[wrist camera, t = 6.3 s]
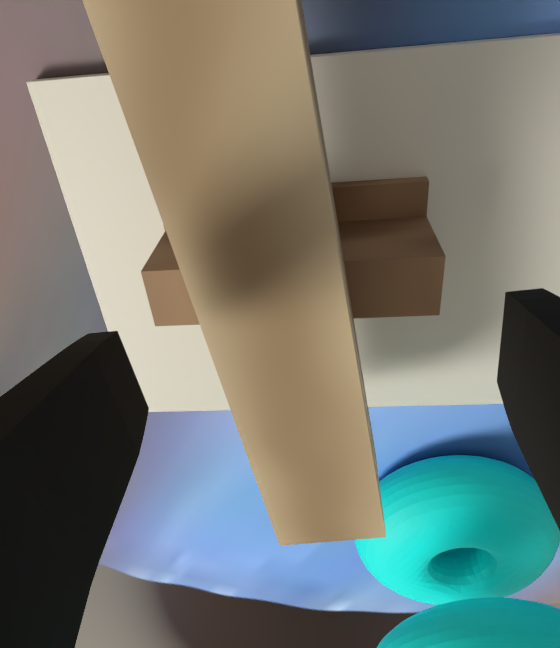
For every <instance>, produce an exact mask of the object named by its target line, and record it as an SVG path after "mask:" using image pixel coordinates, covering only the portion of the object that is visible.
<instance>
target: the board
mask: <svg viewBox="0 0 560 648" xmlns="http://www.w3.org/2000/svg"><path fill="white" fill-rule="evenodd" d="M310 57H311V63H312V69H313V75H314V81H315V87H316V93H317V99H318V105H319V112H320V118H321V124H322V130H323V136H324V142H325V148H326V154H327V160H328V166H329V173H330V179H331V183H332V182H348V181H363V180H379V179H394V178H410V177H425V176H427V178H428V180H429V192H428V205H427V219H428V221H429V223H430V225H431V227H432V229H433V231H434V233H435V235H436V237H437V239H438V241H439V244H440V246H441V248H442V250H443V252H444V254H445V256H446V258H445V268H444V277H443V287H442V296H441V306H440V315H431V316H406V317H380V318H355V319H354V325H355V331H356V337H357V344H358V350H359V356H360V362H361V368H362V374H363V380H364V386H365V392H366V399H367V405H368V407H381V406H424V405H468V404H503V401H502V398H501V394H500V391H499V388H498V384H497V374H498V363H499V353H500V343H501V333H502V323H503V312H504V302H505V292H509V291H519V290H529V289H539V288H543V289H545V290H547V291H549V292H551V293H553V294H555V295H557V296H559V297H560V33H553V34H541V35H530V36H519V37H507V38H496V39H485V40H474V41H462V42H451V43H440V44H428V45H417V46H406V47H394V48H383V49H372V50H361V51H349V52H338V53H327V54H315V55H310ZM26 83H27V86H28V89H29V92H30V95H31V98H32V101H33V104H34V107H35V110H36V113H37V116H38V119H39V122H40V125H41V128H42V131H43V134H44V138H45V141H46V144H47V147H48V150H49V153H50V156H51V159H52V162H53V165H54V168H55V171H56V174H57V177H58V180H59V183H60V186H61V189H62V192H63V195H64V198H65V202H66V205H67V208H68V211H69V214H70V217H71V220H72V223H73V226H74V229H75V232H76V235H77V238H78V241H79V244H80V247H81V250H82V253H83V256H84V259H85V262H86V265H87V269H88V272H89V275H90V278H91V281H92V284H93V287H94V290H95V293H96V296H97V299H98V302H99V305H100V308H101V311H102V314H103V317H104V320H105V323H106V326H107V329H108V332H110V331H118V333H119V336H120V338H121V341H122V343H123V346H124V348H125V351H126V353H127V356H128V358H129V361H130V363H131V365H132V368H133V370H134V373H135V375H136V378H137V380H138V383H139V385H140V388H141V390H142V393H143V395H144V398H145V400H146V403H147V405H148V407H149V411H148V412H165V411H209V410H230V407H229V404H228V401H227V398H226V396H225V393H224V390H223V387H222V385H221V382H220V379H219V376H218V374H217V371H216V368H215V365H214V363H213V360H212V357H211V354H210V351H209V349H208V346H207V343H206V340H205V338H204V335H203V332H202V329H201V327H200V325H177V326H155V324H154V320H153V316H152V312H151V308H150V305H149V301H148V297H147V293H146V290H145V286H144V282H143V278H142V274H141V270H142V269H143V267H144V265H145V264H146V262H147V260H148V259H149V257H150V256H151V254H152V252H153V251H154V249H155V247H156V246H157V244H158V242H159V241H160V239H161V237H162V236H163V234H164V232H165V229H164V225H163V222H162V219H161V216H160V213H159V210H158V208H157V205H156V202H155V199H154V197H153V194H152V191H151V188H150V186H149V183H148V180H147V177H146V175H145V172H144V169H143V166H142V163H141V161H140V158H139V155H138V152H137V150H136V147H135V144H134V141H133V139H132V136H131V133H130V130H129V128H128V125H127V122H126V119H125V116H124V114H123V111H122V108H121V105H120V103H119V100H118V97H117V94H116V92H115V89H114V86H113V83H112V80H111V78H110V75H109V73H101V74H90V75H78V76H67V77H56V78H44V79H35V80H32V81H29V82H26Z"/></svg>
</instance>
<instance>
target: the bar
mask: <svg viewBox="0 0 560 648" xmlns="http://www.w3.org/2000/svg"><path fill="white" fill-rule="evenodd" d="M83 3H84V6H85V9H86V11H87V14H88V17H89V20H90V22H91V25H92V28H93V31H94V33H95V36H96V39H97V42H98V45H99V47H100V50H101V53H102V56H103V58H104V61H105V64H106V67H107V69H108V72H109V75H110V78H111V80H112V83H113V86H114V89H115V92H116V94H117V97H118V100H119V103H120V105H121V108H122V111H123V114H124V116H125V119H126V122H127V125H128V128H129V130H130V133H131V136H132V139H133V141H134V144H135V147H136V150H137V152H138V155H139V158H140V161H141V163H142V166H143V169H144V172H145V175H146V177H147V180H148V183H149V186H150V188H151V191H152V194H153V197H154V199H155V202H156V205H157V208H158V210H159V213H160V216H161V219H162V222H163V224H164V227H165V230H166V233H167V235H168V238H169V241H170V244H171V246H172V249H173V252H174V255H175V257H176V260H177V263H178V266H179V269H180V271H181V274H182V277H183V280H184V282H185V285H186V288H187V291H188V293H189V296H190V299H191V302H192V304H193V307H194V310H195V313H196V316H197V318H198V321H199V324H200V327H201V329H202V332H203V335H204V338H205V340H206V343H207V346H208V349H209V351H210V354H211V357H212V360H213V363H214V365H215V368H216V371H217V374H218V376H219V379H220V382H221V385H222V387H223V390H224V393H225V396H226V398H227V401H228V404H229V407H230V410H231V412H232V415H233V418H234V421H235V423H236V426H237V429H238V432H239V434H240V437H241V440H242V443H243V446H244V448H245V451H246V454H247V457H248V459H249V462H250V465H251V468H252V470H253V473H254V476H255V479H256V481H257V484H258V487H259V490H260V493H261V495H262V498H263V501H264V504H265V506H266V509H267V512H268V515H269V517H270V520H271V523H272V526H273V528H274V531H275V534H276V537H277V540H278V542H279V545H290V544H303V543H317V542H330V541H343V540H356V539H369V538H382V537H386V531H385V523H384V515H383V508H382V500H381V492H380V484H379V477H378V469H377V461H376V453H375V447H374V441H373V435H372V429H371V423H370V417H369V411H368V405H367V399H366V392H365V386H364V380H363V374H362V368H361V362H360V356H359V350H358V344H357V337H356V331H355V325H354V319H353V313H352V307H351V301H350V295H349V289H348V282H347V276H346V270H345V264H344V258H343V252H342V246H341V240H340V234H339V228H338V221H337V215H336V209H335V203H334V197H333V191H332V185H331V179H330V173H329V166H328V160H327V154H326V148H325V142H324V136H323V130H322V124H321V118H320V112H319V105H318V99H317V93H316V87H315V81H314V75H313V69H312V63H311V57H310V50H309V44H308V38H307V32H306V26H305V20H304V14H303V8H302V2H301V0H83Z"/></svg>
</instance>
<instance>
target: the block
mask: <svg viewBox="0 0 560 648" xmlns="http://www.w3.org/2000/svg"><path fill="white" fill-rule="evenodd" d="M331 185H332V191H333V197H334V203H335V209H336V215H337V221H338V228H339V234H340V240H341V246H342V252H343V258H344V264H345V270H346V276H347V282H348V289H349V295H350V301H351V307H352V313H353V319H355V318H380V317H406V316H431V315H440V306H441V296H442V287H443V277H444V268H445V258H446V256H445V254H444V252H443V250H442V248H441V246H440V244H439V241H438V239H437V237H436V235H435V233H434V231H433V229H432V227H431V225H430V223H429V221H428V219H427V205H428V192H429V180H428V178H427V176H425V177H410V178H394V179H379V180H363V181H348V182H332V183H331ZM163 225H164V224H163ZM164 229H165V227H164ZM141 274H142V278H143V282H144V286H145V290H146V293H147V297H148V301H149V305H150V308H151V312H152V316H153V320H154V324H155V326H177V325H200V324H199V321H198V318H197V316H196V313H195V310H194V307H193V304H192V302H191V299H190V296H189V293H188V291H187V288H186V285H185V282H184V280H183V277H182V274H181V271H180V269H179V266H178V263H177V260H176V257H175V255H174V252H173V249H172V246H171V244H170V241H169V238H168V235H167V233H166V230H165V232H164V234H163V236H162V237H161V239H160V241H159V242H158V244H157V246H156V247H155V249H154V251H153V252H152V254H151V256H150V257H149V259H148V260H147V262H146V264H145V265H144V267H143V269H142V270H141Z"/></svg>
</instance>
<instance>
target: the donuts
mask: <svg viewBox="0 0 560 648" xmlns="http://www.w3.org/2000/svg"><path fill="white" fill-rule="evenodd" d="M379 484H380V492H381V500H382V508H383V515H384V523H385V531H386V537H382V538H369V539H356V540H355V543H356V547H357V550H358V553H359V556H360V558H361V559H362V561H363V563H364V564H365V566H366V568H367V569H368V570H369V571H370V573H371V574H372V575H373V576H374V577H375V578H376V579H377V580H378V581H380V582H381V583H382V584H383V585H385V586H386V587H388V588H389V589H391V590H393V591H394V592H396V593H398V594H400V595H402V596H404V597H407V598H410V599H413V600H416V601H420V602H424V603H429V604H434V605H438V606H435V607H432V608H429V609H426V610H424V611H421V612H419V613H417V614H415V615H413V616H411V617H409V618H408V619H406V620H404V621H403V622H401V623H400V624H399V625H398V626H396V627H395V628H394V629H393V630H391V631H390V632H389V633H388V634H387V635H386V636H385V637H384V638H383V639H382V641H381V642H380V644H379V645H378V647H377V648H560V609H558V608H556V607H553V606H550V605H546V604H543V603H538V602H534V601H528V600H521V599H513V598H504V597H507V596H509V595H511V594H514V593H516V592H518V591H519V590H521V589H523V588H525V587H526V586H528V585H529V584H531V583H532V582H534V581H535V580H536V579H537V578H538V577H539V576H540V575H541V574H542V573H543V572H544V571H545V570H546V568H547V567H548V566H549V565H550V563H551V562H552V560H553V558H554V556H555V553H556V551H557V548H558V546H559V541H560V531H559V529H558V526H557V524H556V522H555V520H554V518H553V516H552V514H551V512H550V510H549V508H548V505H547V503H546V501H545V499H544V497H543V495H542V493H541V491H540V489H539V487H538V485H537V483H536V480H535V479H534V478H532V477H531V476H530V475H528V474H527V473H525V472H524V471H522V470H520V469H518V468H517V467H514V466H512V465H510V464H508V463H505V462H502V461H498V460H495V459H490V458H485V457H480V456H470V455H448V456H439V457H433V458H428V459H424V460H421V461H417V462H414V463H411V464H409V465H406V466H404V467H401V468H399V469H398V470H396V471H394V472H392V473H391V474H389V475H387V476H386V477H385V478H383V479H382V480H381V481H379Z"/></svg>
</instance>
